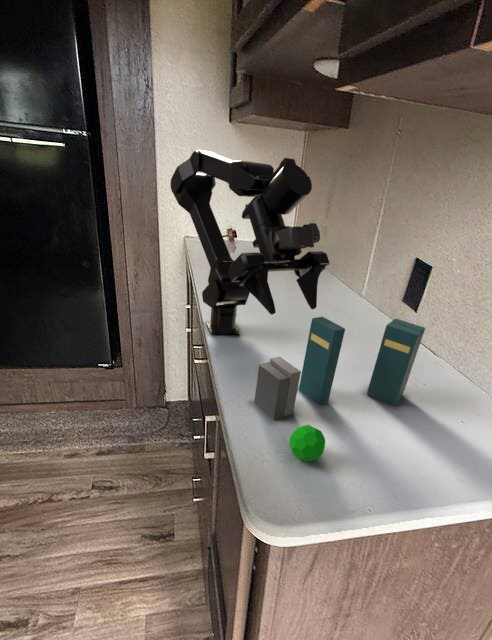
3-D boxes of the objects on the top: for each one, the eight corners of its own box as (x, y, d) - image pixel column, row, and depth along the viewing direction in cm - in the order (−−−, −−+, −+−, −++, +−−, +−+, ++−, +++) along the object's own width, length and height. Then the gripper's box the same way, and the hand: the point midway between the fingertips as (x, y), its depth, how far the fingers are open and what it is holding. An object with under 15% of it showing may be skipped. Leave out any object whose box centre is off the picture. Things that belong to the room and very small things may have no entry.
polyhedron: (301, 472, 53) (308, 444, 51) (280, 451, 57) (285, 424, 54) (328, 461, 56) (335, 434, 54) (306, 441, 59) (312, 415, 57)
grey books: (254, 402, 67) (259, 360, 63) (273, 397, 69) (279, 356, 65) (273, 420, 63) (280, 376, 59) (293, 413, 65) (301, 371, 62)
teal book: (298, 389, 72) (311, 318, 66) (308, 386, 74) (322, 316, 67) (318, 405, 69) (334, 330, 62) (328, 401, 70) (345, 328, 63)
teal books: (366, 394, 74) (386, 325, 67) (375, 384, 78) (395, 318, 71) (394, 406, 72) (418, 335, 65) (402, 395, 76) (425, 327, 69)
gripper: (246, 199, 59) (276, 297, 58) (335, 206, 70) (362, 289, 69) (216, 237, 68) (241, 323, 67) (299, 238, 79) (322, 312, 78)
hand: (294, 311), depth 70 cm, fingers open, 9 cm apart
